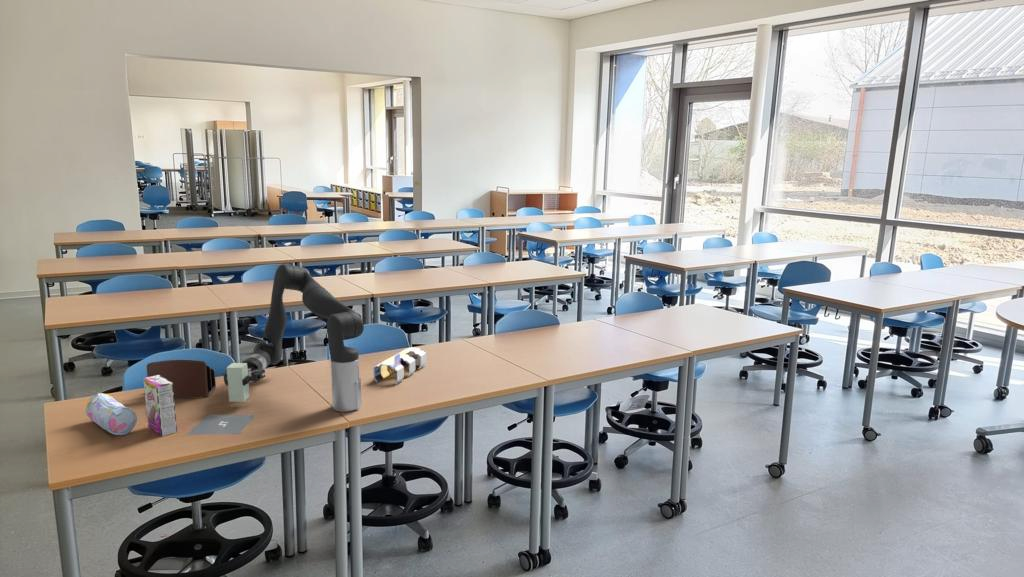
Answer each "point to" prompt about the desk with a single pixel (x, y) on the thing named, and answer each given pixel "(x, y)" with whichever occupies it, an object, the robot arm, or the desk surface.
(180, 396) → the letter holder
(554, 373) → the desk surface
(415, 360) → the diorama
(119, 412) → the pencil case
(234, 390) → the green block
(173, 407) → the candy bar box
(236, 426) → the gray tile
